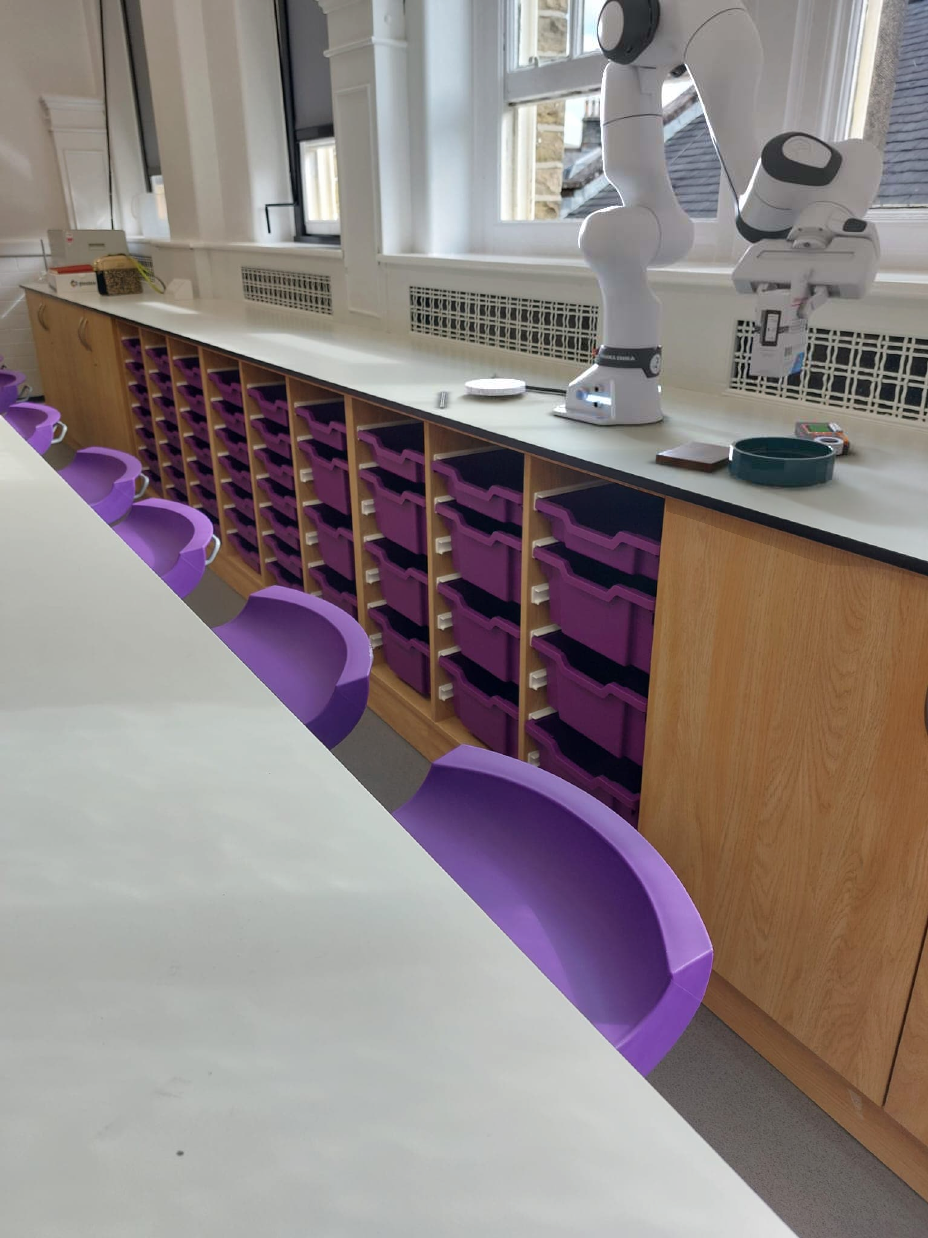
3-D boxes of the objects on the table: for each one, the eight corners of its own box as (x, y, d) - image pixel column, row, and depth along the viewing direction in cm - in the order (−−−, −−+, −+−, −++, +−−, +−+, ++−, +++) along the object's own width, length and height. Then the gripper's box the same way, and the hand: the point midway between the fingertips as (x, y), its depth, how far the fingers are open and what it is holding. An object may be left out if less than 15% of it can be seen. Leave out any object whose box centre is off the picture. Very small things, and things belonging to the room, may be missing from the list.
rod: (440, 409, 191) (440, 406, 191) (442, 394, 208) (442, 391, 208) (443, 409, 191) (443, 406, 191) (445, 394, 208) (445, 391, 208)
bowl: (710, 477, 135) (713, 449, 133) (755, 459, 145) (758, 432, 144) (806, 495, 126) (810, 464, 124) (847, 474, 136) (852, 445, 134)
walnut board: (655, 463, 144) (656, 454, 144) (692, 449, 152) (693, 441, 152) (710, 473, 138) (711, 463, 137) (745, 458, 146) (747, 449, 145)
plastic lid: (475, 401, 197) (475, 390, 196) (458, 391, 209) (458, 380, 208) (533, 397, 201) (534, 386, 199) (513, 387, 213) (513, 377, 212)
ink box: (770, 367, 136) (783, 265, 130) (802, 370, 133) (817, 266, 127) (747, 375, 130) (760, 268, 124) (779, 378, 127) (794, 269, 121)
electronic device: (812, 442, 145) (796, 419, 159) (809, 459, 147) (793, 435, 160) (855, 442, 144) (835, 420, 158) (852, 460, 146) (832, 436, 159)
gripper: (748, 223, 134) (710, 296, 131) (886, 223, 121) (847, 303, 119) (758, 254, 139) (721, 324, 136) (892, 256, 126) (854, 334, 124)
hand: (781, 314), depth 127 cm, fingers closed on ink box, 5 cm apart
